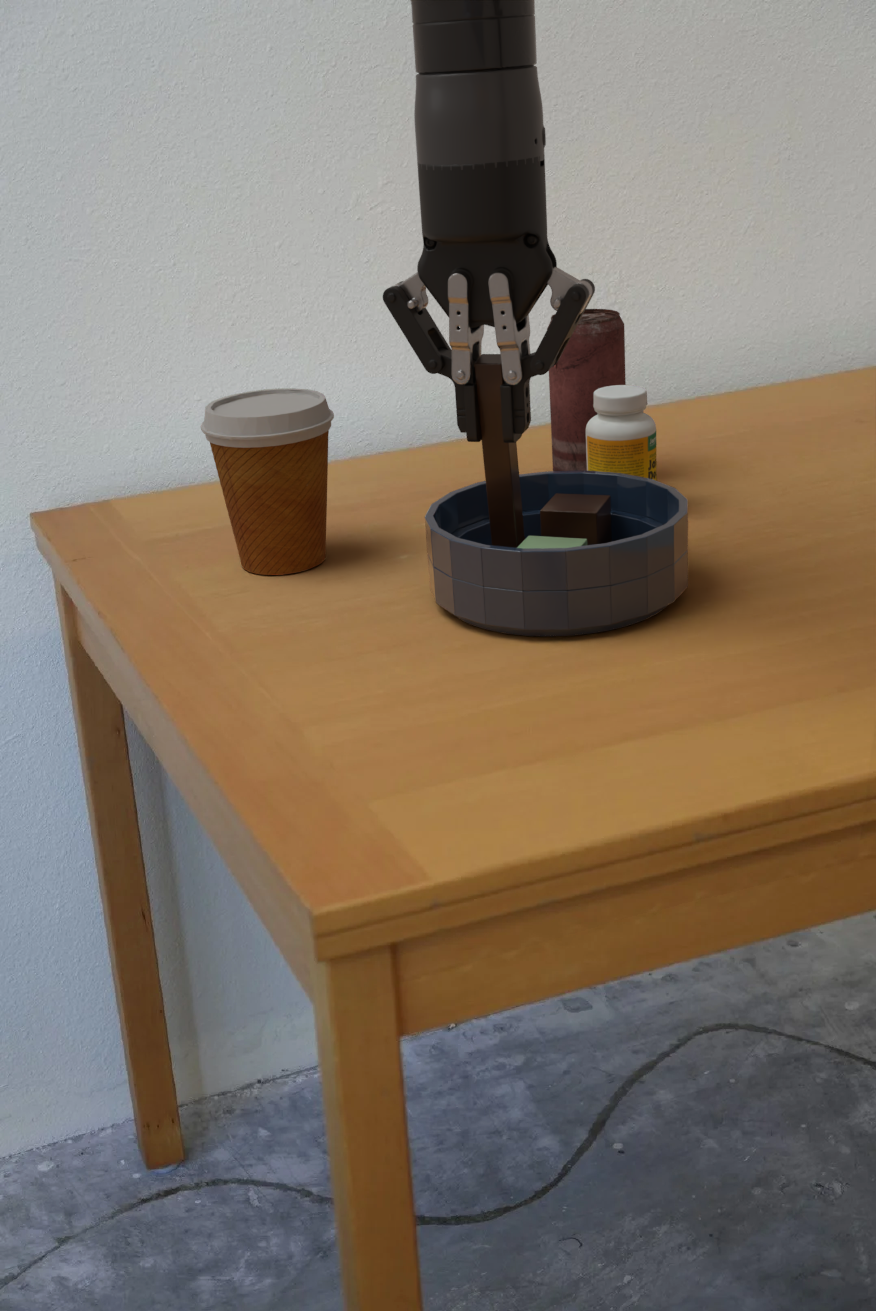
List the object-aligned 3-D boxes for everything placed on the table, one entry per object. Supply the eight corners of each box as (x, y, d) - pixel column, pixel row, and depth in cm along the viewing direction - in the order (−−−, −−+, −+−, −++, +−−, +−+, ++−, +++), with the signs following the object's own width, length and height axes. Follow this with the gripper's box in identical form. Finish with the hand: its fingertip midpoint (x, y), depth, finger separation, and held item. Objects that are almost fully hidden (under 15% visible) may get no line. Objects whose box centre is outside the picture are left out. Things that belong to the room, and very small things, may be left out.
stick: (526, 553, 99) (509, 353, 92) (519, 565, 98) (501, 363, 91) (500, 552, 100) (481, 353, 93) (493, 564, 98) (473, 363, 91)
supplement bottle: (585, 503, 118) (581, 384, 114) (653, 499, 117) (651, 379, 114) (590, 525, 113) (587, 401, 109) (661, 520, 112) (659, 396, 109)
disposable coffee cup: (326, 532, 115) (311, 380, 111) (363, 568, 107) (348, 405, 102) (207, 554, 113) (186, 399, 108) (235, 592, 104) (214, 426, 100)
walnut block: (612, 549, 105) (610, 495, 103) (598, 568, 101) (596, 512, 100) (557, 546, 106) (555, 493, 105) (542, 565, 103) (539, 510, 101)
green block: (589, 596, 97) (587, 538, 95) (571, 618, 93) (569, 559, 92) (531, 592, 98) (528, 535, 96) (511, 614, 95) (508, 555, 93)
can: (536, 487, 123) (528, 317, 117) (588, 469, 126) (583, 303, 121) (590, 499, 118) (584, 324, 113) (642, 480, 122) (639, 310, 117)
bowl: (741, 601, 96) (742, 513, 94) (510, 664, 89) (505, 570, 87) (598, 534, 110) (596, 456, 108) (390, 584, 104) (383, 502, 101)
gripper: (348, 163, 86) (373, 453, 93) (579, 154, 81) (588, 458, 88) (392, 150, 92) (412, 422, 99) (608, 141, 88) (614, 426, 95)
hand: (495, 438), depth 94 cm, fingers closed on stick, 2 cm apart
